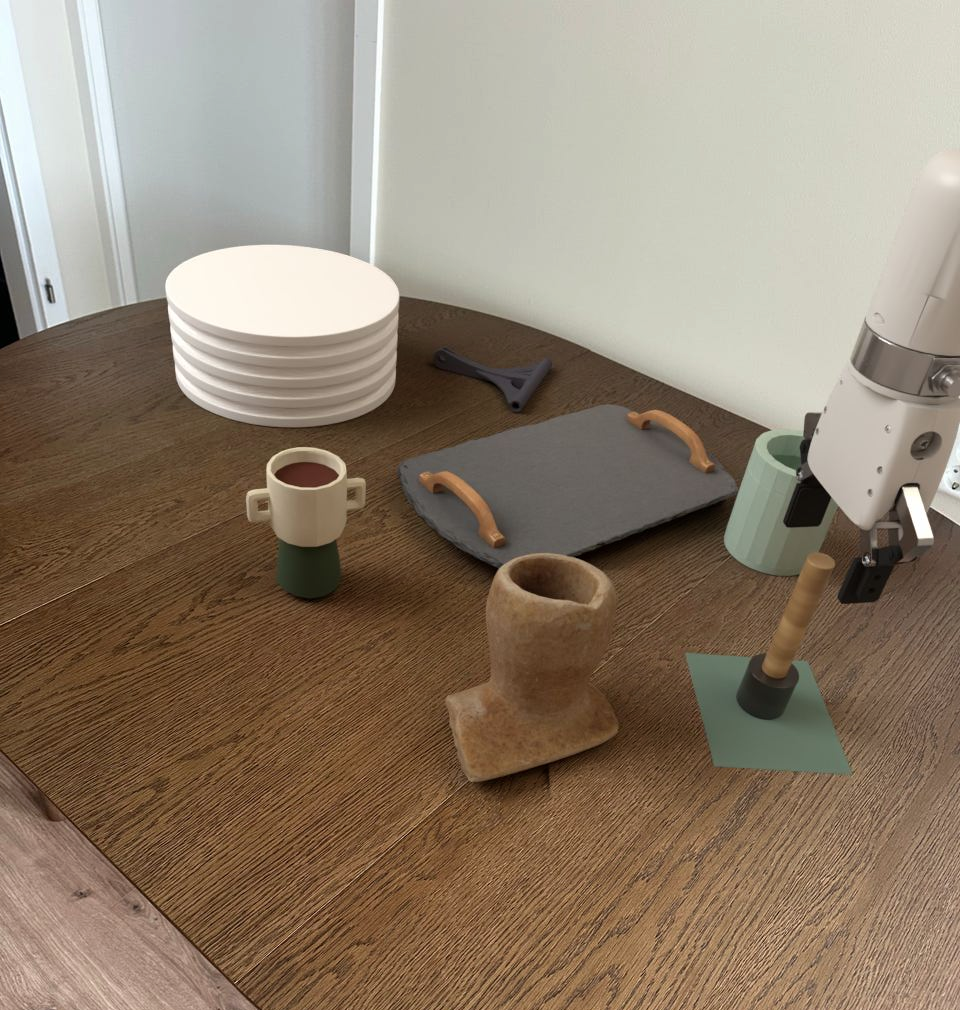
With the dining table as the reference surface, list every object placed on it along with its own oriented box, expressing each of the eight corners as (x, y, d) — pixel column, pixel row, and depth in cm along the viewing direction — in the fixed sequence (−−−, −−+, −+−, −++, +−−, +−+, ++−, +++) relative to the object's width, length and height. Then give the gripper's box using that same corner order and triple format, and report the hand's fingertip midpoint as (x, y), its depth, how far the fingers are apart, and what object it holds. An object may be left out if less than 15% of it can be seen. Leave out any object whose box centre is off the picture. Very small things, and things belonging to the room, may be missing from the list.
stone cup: (564, 659, 87) (593, 525, 77) (631, 750, 79) (674, 615, 69) (412, 697, 81) (423, 559, 71) (469, 800, 74) (490, 660, 64)
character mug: (353, 553, 96) (355, 440, 87) (373, 596, 91) (377, 482, 82) (245, 568, 92) (236, 452, 83) (260, 614, 87) (252, 497, 79)
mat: (806, 665, 90) (808, 660, 90) (850, 779, 80) (853, 774, 79) (683, 657, 89) (685, 652, 89) (712, 770, 79) (714, 766, 78)
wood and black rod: (739, 679, 87) (795, 537, 76) (786, 693, 86) (850, 552, 75) (732, 710, 83) (791, 567, 73) (782, 726, 83) (848, 583, 72)
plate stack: (314, 312, 138) (313, 231, 130) (438, 390, 124) (445, 305, 116) (135, 355, 122) (122, 267, 115) (254, 451, 108) (248, 357, 100)
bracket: (452, 345, 134) (453, 326, 133) (551, 370, 132) (554, 351, 130) (414, 387, 124) (415, 367, 122) (520, 414, 121) (523, 395, 119)
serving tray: (492, 606, 92) (500, 555, 88) (369, 489, 105) (370, 440, 101) (754, 504, 111) (770, 458, 107) (622, 415, 124) (632, 372, 120)
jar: (800, 525, 108) (837, 433, 100) (824, 579, 101) (867, 484, 93) (715, 519, 108) (746, 425, 100) (734, 572, 100) (768, 476, 92)
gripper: (1039, 422, 57) (926, 631, 69) (897, 304, 70) (821, 498, 81) (930, 424, 56) (833, 637, 67) (804, 304, 68) (741, 501, 80)
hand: (827, 561), depth 74 cm, fingers open, 9 cm apart
